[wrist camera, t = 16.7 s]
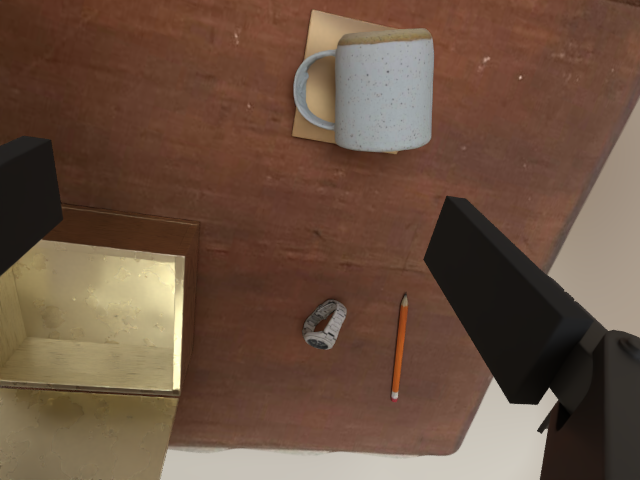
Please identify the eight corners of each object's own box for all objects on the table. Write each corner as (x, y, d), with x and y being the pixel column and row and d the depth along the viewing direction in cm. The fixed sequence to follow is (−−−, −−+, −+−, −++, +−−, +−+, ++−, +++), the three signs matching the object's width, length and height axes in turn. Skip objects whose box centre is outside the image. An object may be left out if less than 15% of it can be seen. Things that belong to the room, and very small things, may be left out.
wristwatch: (295, 320, 46) (296, 351, 42) (329, 287, 44) (334, 316, 40) (317, 333, 47) (320, 365, 43) (351, 302, 45) (359, 331, 41)
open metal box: (-7, 194, 35) (-65, 227, 30) (199, 221, 39) (185, 256, 33) (24, 336, 44) (-17, 384, 38) (193, 349, 47) (180, 396, 41)
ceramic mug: (419, 25, 31) (454, 24, 24) (414, 128, 35) (443, 152, 28) (288, 36, 31) (287, 39, 24) (298, 139, 35) (300, 165, 28)
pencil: (390, 397, 54) (392, 402, 54) (401, 289, 45) (403, 294, 44) (396, 396, 54) (398, 402, 54) (408, 289, 45) (410, 293, 44)
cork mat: (311, 9, 31) (312, 9, 30) (428, 36, 32) (431, 36, 31) (291, 134, 35) (291, 136, 34) (394, 152, 37) (396, 154, 36)
